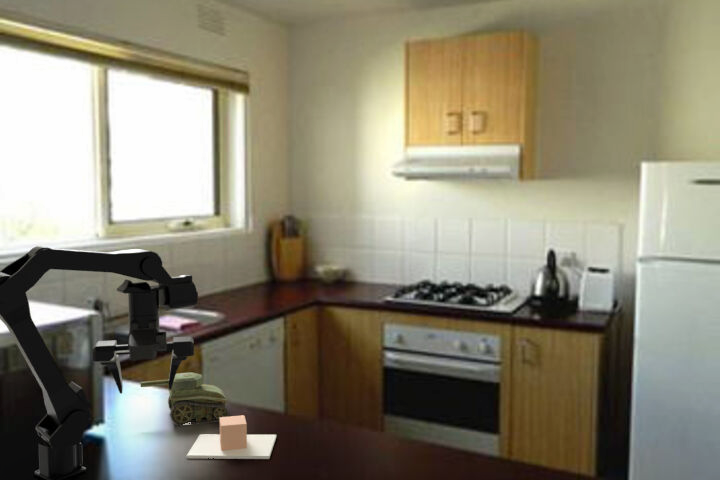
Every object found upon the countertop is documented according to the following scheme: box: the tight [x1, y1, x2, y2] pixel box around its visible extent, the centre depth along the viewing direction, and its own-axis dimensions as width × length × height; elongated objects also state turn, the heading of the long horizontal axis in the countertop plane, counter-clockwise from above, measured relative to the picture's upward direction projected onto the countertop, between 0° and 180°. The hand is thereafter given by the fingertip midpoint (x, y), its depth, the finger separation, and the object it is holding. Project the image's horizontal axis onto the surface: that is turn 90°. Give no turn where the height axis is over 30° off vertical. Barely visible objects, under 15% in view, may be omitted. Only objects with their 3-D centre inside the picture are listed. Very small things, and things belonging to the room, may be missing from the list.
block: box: [219, 414, 248, 451], centre depth 136 cm, size 5×5×5 cm
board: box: [186, 433, 277, 460], centre depth 136 cm, size 16×11×1 cm
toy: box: [140, 371, 229, 426], centre depth 153 cm, size 10×18×10 cm, turn 109°
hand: (145, 391), depth 133 cm, fingers open, 9 cm apart
